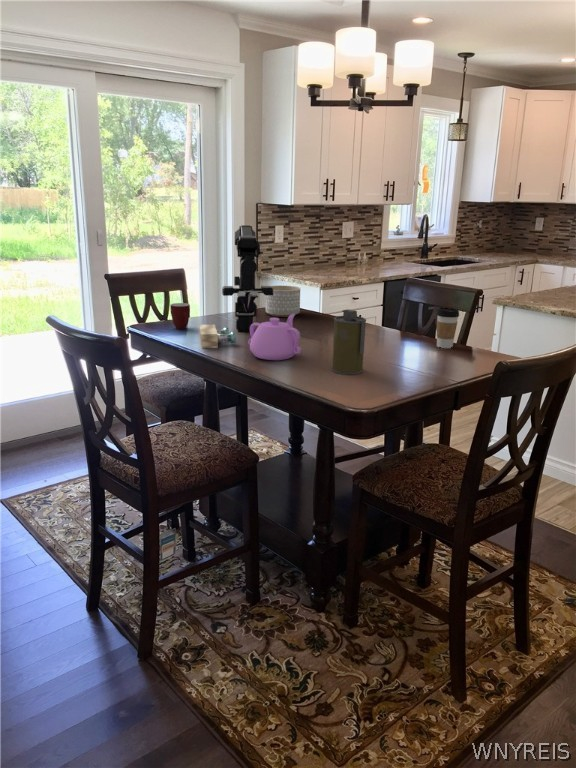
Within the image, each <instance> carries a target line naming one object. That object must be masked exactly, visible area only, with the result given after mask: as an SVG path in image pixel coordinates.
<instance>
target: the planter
mask: <svg viewBox="0 0 576 768" xmlns="http://www.w3.org/2000/svg"><path fill="white" fill-rule="evenodd" d="M270 286H271V287H272V288H273V295H265V313H267V314H268V315H269V316H271V317H275V318H288V317H289V316H290V315H291V314H295V315H294V317H295V316H297V315H298V314H300V312H301V311H300V309H301V287H299V286H295V285H270Z"/></svg>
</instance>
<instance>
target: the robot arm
mask: <svg viewBox="0 0 576 768" xmlns="http://www.w3.org/2000/svg"><path fill="white" fill-rule="evenodd" d="M260 244H261V243H260V241H259V240H257V236H256V232H255V230H254V229H253V225H246V224H245V225H243V224H241V225H239V228H238V229H237V230H236V231H235V232H234V246H236V247H235V248H236V252H237V258H239V276H234V277H233V278H234V280H233V281H234V286H238V288H237V287H235V288H234V286H233V285H224V286H222V287H221V288H222V289H221V294H222V296H225V297H226V296H227V297H231V296H233V295H234V294H236V295H237V298H236V302H234V303H235V304H234V317H235V328H236V330H237V332H238V333H239V332H241V333H244V332H245V333H246V332H247V333H250V326H251V325H252V324H253V323H254V318H256V317H257V316H258V315H257V313H258V305H257V303H256V302H255V300H256V299H257V298H259V295H258V294H263V295H264V296H266V295H273V288H272V287H271V286H272V285H261V286H260V287H256V272H257V269H258V265H257V262H256V258H259V257H260V256H259V255H261V245H260Z"/></svg>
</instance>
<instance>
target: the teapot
mask: <svg viewBox="0 0 576 768" xmlns="http://www.w3.org/2000/svg"><path fill="white" fill-rule="evenodd" d="M294 315H295V314H291V315H290V316H289V317H287V320H286V322H283V321H280V317H271V318H269V321H264V322H261V323H260V322H253V324H252V325H251V326H250V332H249V335H250V338H249V339H248V341H247V344H248V345H249V350H250V352H251V353H252V354H253V355H254V357H256V358H258V359H262V360H268V361H281V360H288V359H291V358H293V357H294V356H295V355H300V354H301V352H302V348H301V346H299V342H300V339H301V333H300V330H298V329H297V328H296V327H293V326H294V325H293V320H294V318H295V316H296V315H295V316H294ZM255 327H257V328H256V330H255Z"/></svg>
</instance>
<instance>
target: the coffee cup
mask: <svg viewBox="0 0 576 768" xmlns="http://www.w3.org/2000/svg"><path fill="white" fill-rule="evenodd" d="M436 316H437V320H436V347H437V348H439V347H441V348H440V349H452V348H453V345H454V341H455V340H454V339H455V335H456V332H457V331H456V330H457V326H458V318H459V316H460V310H459V309H457V308H453V307H447V306H438V308H437V312H436ZM451 347H452V348H451Z"/></svg>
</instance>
